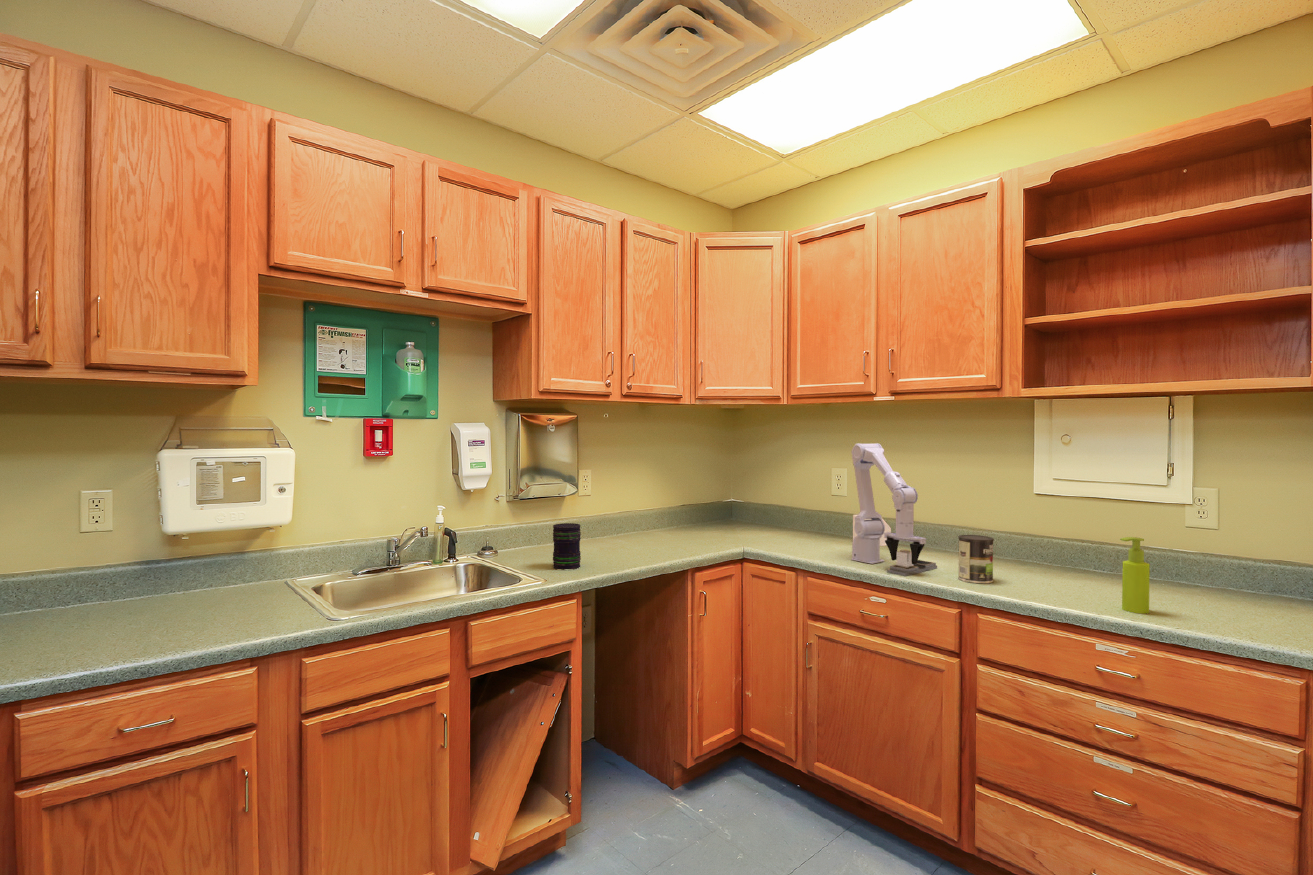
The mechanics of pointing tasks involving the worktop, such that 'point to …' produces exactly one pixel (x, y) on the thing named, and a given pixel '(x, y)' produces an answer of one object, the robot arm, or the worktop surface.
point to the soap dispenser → (1135, 579)
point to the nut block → (904, 559)
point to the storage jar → (566, 546)
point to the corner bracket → (882, 539)
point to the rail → (918, 568)
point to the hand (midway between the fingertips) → (904, 561)
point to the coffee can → (976, 559)
